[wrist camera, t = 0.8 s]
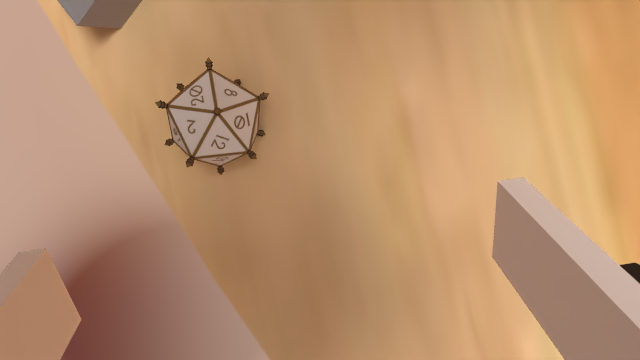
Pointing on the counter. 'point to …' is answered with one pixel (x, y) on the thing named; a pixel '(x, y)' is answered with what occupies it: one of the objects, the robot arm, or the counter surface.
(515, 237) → the robot arm
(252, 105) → the game die
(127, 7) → the gray block
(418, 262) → the counter surface
